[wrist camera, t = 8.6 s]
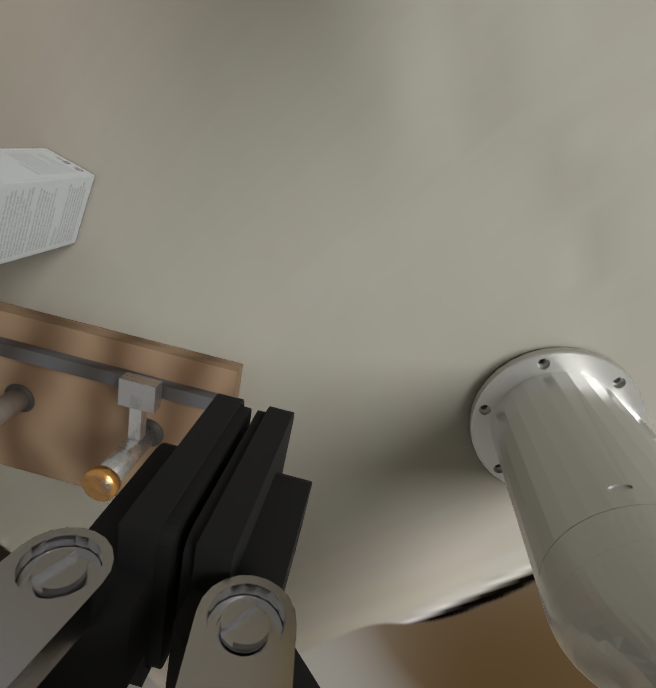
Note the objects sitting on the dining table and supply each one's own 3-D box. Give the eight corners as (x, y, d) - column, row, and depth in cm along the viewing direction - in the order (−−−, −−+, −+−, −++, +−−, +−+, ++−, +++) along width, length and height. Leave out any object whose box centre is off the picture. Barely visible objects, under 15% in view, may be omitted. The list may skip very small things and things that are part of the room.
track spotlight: (167, 376, 40) (121, 420, 33) (160, 451, 43) (117, 505, 36) (132, 367, 40) (79, 409, 33) (127, 443, 43) (78, 495, 36)
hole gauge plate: (242, 364, 41) (201, 419, 32) (220, 511, 47) (180, 589, 38) (-4, 300, 42) (-105, 338, 33) (5, 453, 48) (-78, 516, 40)
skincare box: (45, 146, 36) (-111, 144, 25) (97, 175, 37) (-36, 185, 25) (27, 219, 39) (-124, 247, 28) (76, 246, 39) (-54, 284, 28)
